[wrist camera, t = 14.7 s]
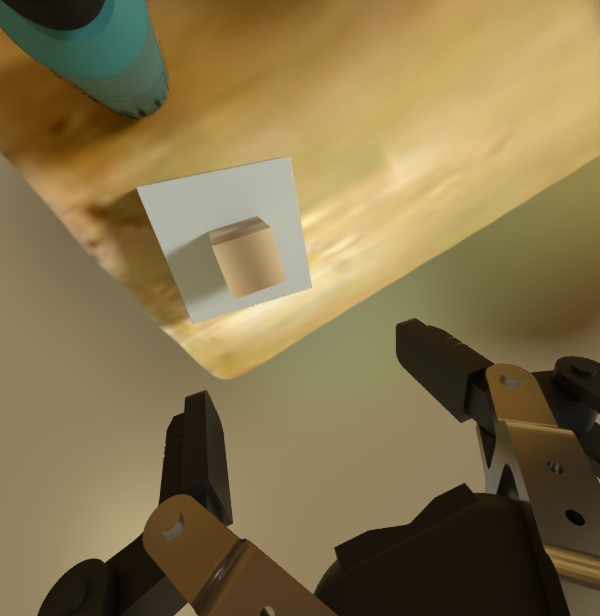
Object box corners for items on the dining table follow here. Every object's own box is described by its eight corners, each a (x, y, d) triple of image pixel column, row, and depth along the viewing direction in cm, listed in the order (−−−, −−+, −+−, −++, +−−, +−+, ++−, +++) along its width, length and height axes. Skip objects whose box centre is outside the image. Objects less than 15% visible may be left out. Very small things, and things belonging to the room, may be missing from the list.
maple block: (257, 216, 29) (270, 227, 24) (271, 261, 31) (286, 281, 26) (208, 231, 28) (211, 246, 23) (226, 277, 31) (233, 300, 26)
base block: (277, 157, 32) (290, 156, 28) (299, 274, 39) (312, 287, 34) (144, 184, 29) (136, 187, 25) (192, 305, 36) (192, 323, 32)
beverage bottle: (111, 6, 23) (-122, -446, 6) (187, 80, 26) (175, -74, 9) (68, 78, 24) (-239, -138, 7) (147, 141, 27) (69, 100, 10)
